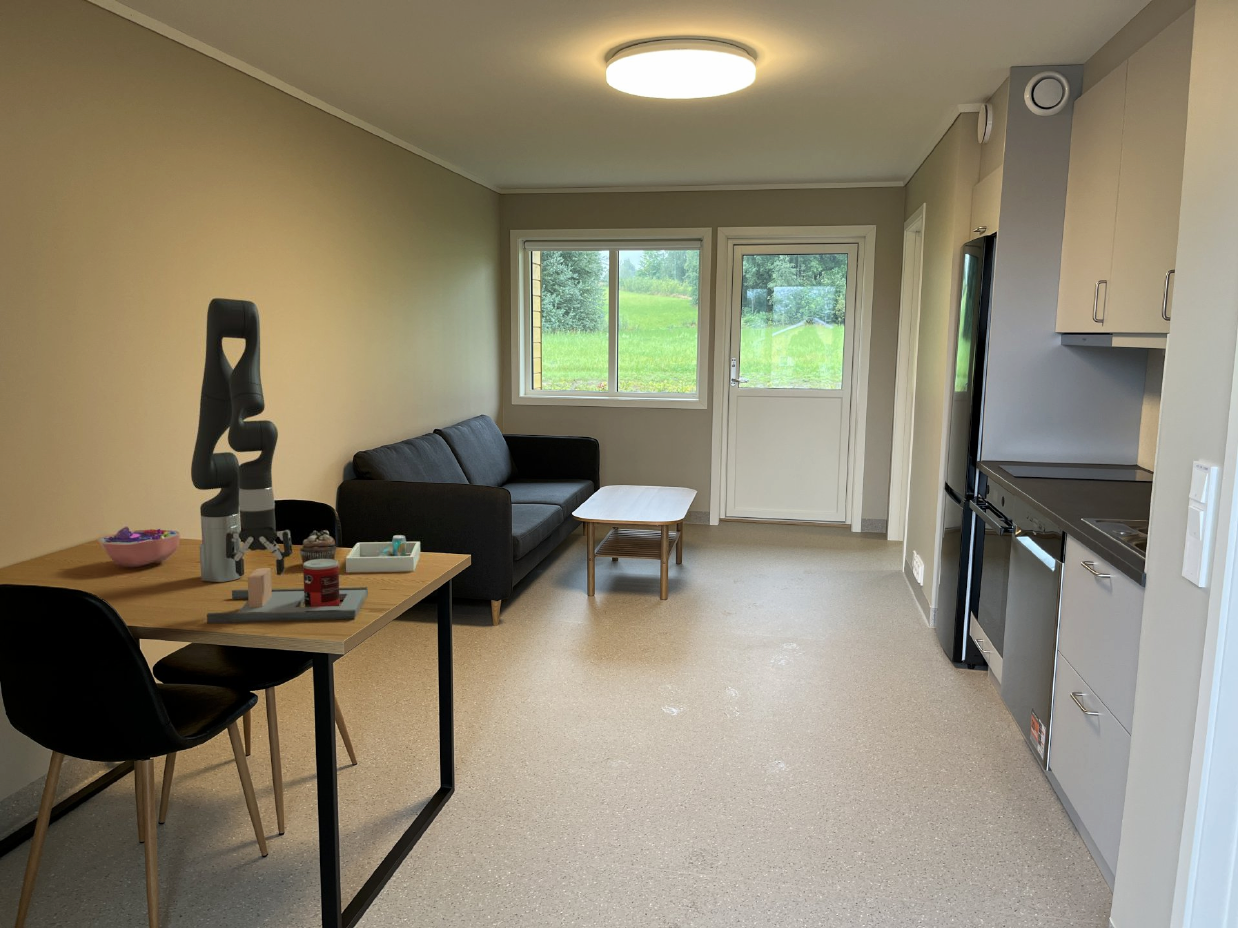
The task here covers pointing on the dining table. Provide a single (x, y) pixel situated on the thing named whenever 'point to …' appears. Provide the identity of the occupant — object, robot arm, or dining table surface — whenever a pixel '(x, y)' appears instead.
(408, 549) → the white shallow tray
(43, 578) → the dining table surface
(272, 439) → the robot arm
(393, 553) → the beverage can
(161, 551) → the cell model
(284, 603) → the grey piece
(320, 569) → the canned food
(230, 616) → the guide rails
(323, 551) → the cupcake
